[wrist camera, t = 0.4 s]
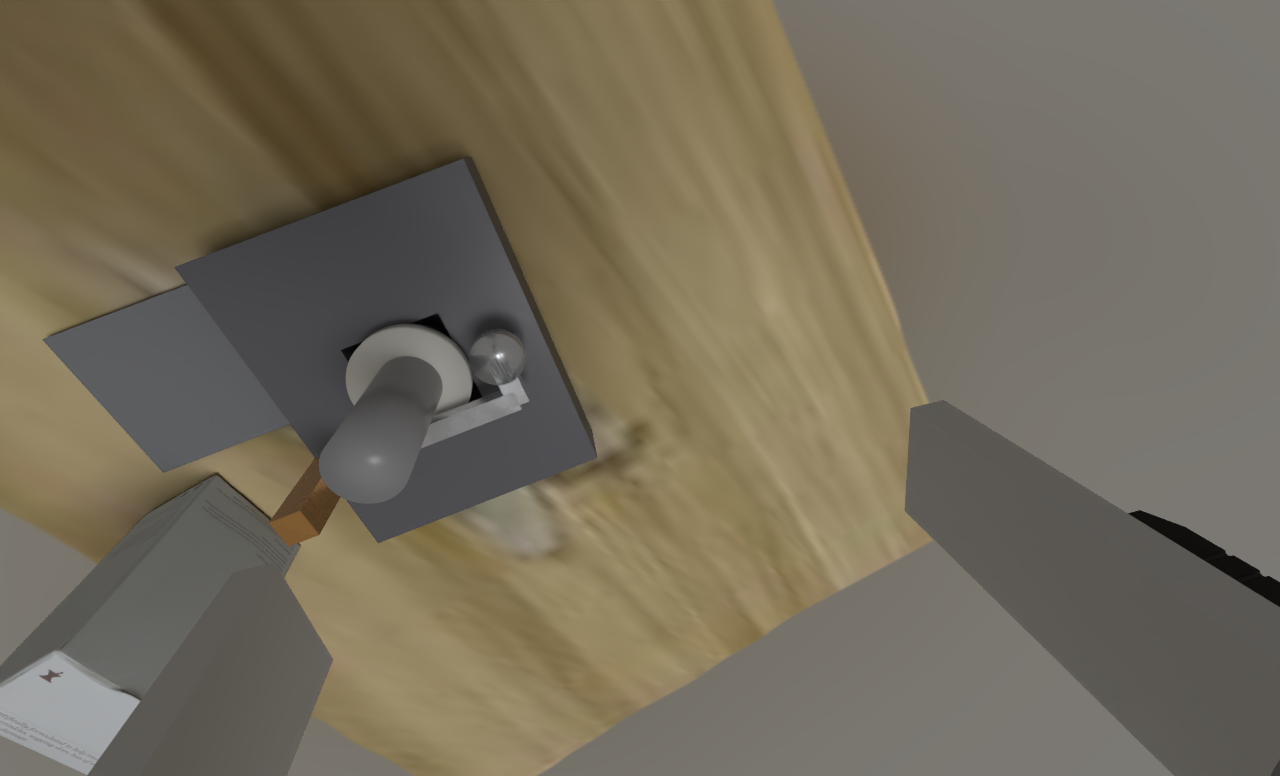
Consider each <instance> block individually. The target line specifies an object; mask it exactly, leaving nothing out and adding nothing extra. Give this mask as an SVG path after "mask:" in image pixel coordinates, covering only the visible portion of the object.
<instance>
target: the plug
mask: <svg viewBox="0 0 1280 776" xmlns="http://www.w3.org/2000/svg"><path fill="white" fill-rule="evenodd" d="M346 387H347V391H348V395H349V397H350V400H351V401H352V403H353V405H354V407H353V408H352V409H351V411H350V412H349V414H348V415H347V416H346V418H345V419H344V421H343V422H342V423H341V425H340V426H339V428H338V429H337V431H336V432H335V433H334V435H333V436H332V438H331V439H330V440H329V442H328V443H327V445H326V446H325V447H324V449H323V451H322V452H321V455H320V458H319V471H320V475H321V477H322V479H323V481H324V483H325V484H326V485H327V486H328V488H329V489H330V490H332V491H333V492H334V493H335V494H337V495H338V496H340V497H342V498H344V499H346V500H349V501H352V502H356V503H363V504H373V503H380V502H384V501H387V500H389V499H391V498H393V497H395V496H396V495H398V494H399V493H400V492H401V491H402V490H403V489H404V487H405V486H406V484H407V482H408V480H409V477H410V475H411V472H412V470H413V467H414V464H415V462H416V459H417V457H418V454H419V452H420V449H421V446H422V444H423V441H424V439H425V436H426V434H427V431H428V428H429V426H430V423H431V421H432V418H433V416H435V415H438V414H441V413H443V412H446V411H448V410H451V409H454V408H456V407H459V406H461V405H464V404H467V403H469V400H470V396H471V393H472V387H473V376H472V370H471V367H470V364H469V361H468V359H467V357H466V356H465V354H464V352H463V351H462V350H461V349H460V347H459V346H458V345H457V344H456V343H455V342H454V341H453V340H452V338H451V336H450V335H449V333H448V331H447V330H446V329H445V328H443V327H441V326H439V325H436V324H433V323H428V322H417V323H412V324H397V325H392V326H388V327H385V328H382V329H380V330H378V331H376V332H374V333H373V334H371V335H370V336H369V337H367V338H366V339H365V340H364V341H363V342H362V343H361V344H360V346H359V347H358V348H357V349H356V350H355V351H354V353H353V355H352V356H351V358H350V360H349V363H348V366H347V370H346Z"/></svg>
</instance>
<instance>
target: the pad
mask: <svg viewBox="0 0 1280 776" xmlns="http://www.w3.org/2000/svg"><path fill="white" fill-rule="evenodd" d="M42 340H43V341H44V342H45V343H46V344H47V345H48V346H49V347H50V349H51V350H52V351H53V352H54V353H55V354H56V355H57V356H58V357H59V358H60V360H61V361H62V362H63V363H64V364H65V365H66V366H67V367H68V368H69V369H70V371H71V372H72V373H73V374H74V375H75V376H76V377H77V378H78V379H79V380H80V382H81V383H82V384H83V385H84V386H85V387H86V388H87V389H88V390H89V391H90V393H91V394H92V395H93V396H94V397H95V398H96V399H97V400H98V401H99V402H100V404H101V405H102V406H103V407H104V408H105V409H106V410H107V411H108V412H109V413H110V415H111V416H112V417H113V418H114V419H115V420H116V421H117V422H118V423H119V424H120V426H121V427H122V428H123V429H124V430H125V431H126V432H127V433H128V434H129V436H130V437H131V438H132V439H133V440H134V441H135V442H136V443H137V444H138V445H139V447H140V448H141V449H142V450H143V451H144V452H145V453H146V454H147V455H148V456H149V458H150V459H151V460H152V461H153V462H154V463H155V464H156V465H157V466H158V467H159V469H160V470H161V471H162V472H163V473H164V472H166V471H169V470H172V469H174V468H177V467H179V466H182V465H185V464H187V463H190V462H192V461H195V460H198V459H200V458H203V457H205V456H208V455H211V454H213V453H216V452H218V451H221V450H224V449H226V448H229V447H231V446H234V445H237V444H239V443H242V442H244V441H247V440H250V439H252V438H255V437H258V436H260V435H263V434H265V433H268V432H271V431H273V430H276V429H278V428H281V427H284V426H286V425H289V424H290V423H289V422H288V420H287V419H286V418H285V416H284V415H283V414H282V412H281V411H280V410H279V408H278V407H277V405H276V404H275V403H274V401H273V400H272V399H271V397H270V396H269V395H268V393H267V392H266V391H265V389H264V388H263V386H262V385H261V384H260V382H259V381H258V380H257V378H256V377H255V376H254V374H253V373H252V372H251V370H250V369H249V368H248V366H247V365H246V363H245V362H244V361H243V359H242V358H241V357H240V355H239V354H238V353H237V351H236V350H235V349H234V347H233V346H232V344H231V343H230V342H229V340H228V339H227V338H226V336H225V335H224V334H223V332H222V331H221V330H220V328H219V327H218V326H217V324H216V323H215V321H214V320H213V319H212V317H211V316H210V315H209V313H208V312H207V311H206V309H205V308H204V307H203V305H202V304H201V303H200V301H199V300H198V298H197V297H196V296H195V294H194V293H193V292H192V290H191V289H190V288H189V286H188V285H185V286H182V287H180V288H177V289H174V290H172V291H169V292H166V293H164V294H161V295H158V296H156V297H153V298H151V299H148V300H145V301H143V302H140V303H137V304H135V305H132V306H129V307H127V308H124V309H121V310H119V311H116V312H113V313H111V314H108V315H105V316H103V317H100V318H98V319H95V320H92V321H90V322H87V323H84V324H82V325H79V326H76V327H74V328H71V329H68V330H66V331H63V332H60V333H58V334H55V335H52V336H50V337H47V338H45V339H42Z"/></svg>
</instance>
